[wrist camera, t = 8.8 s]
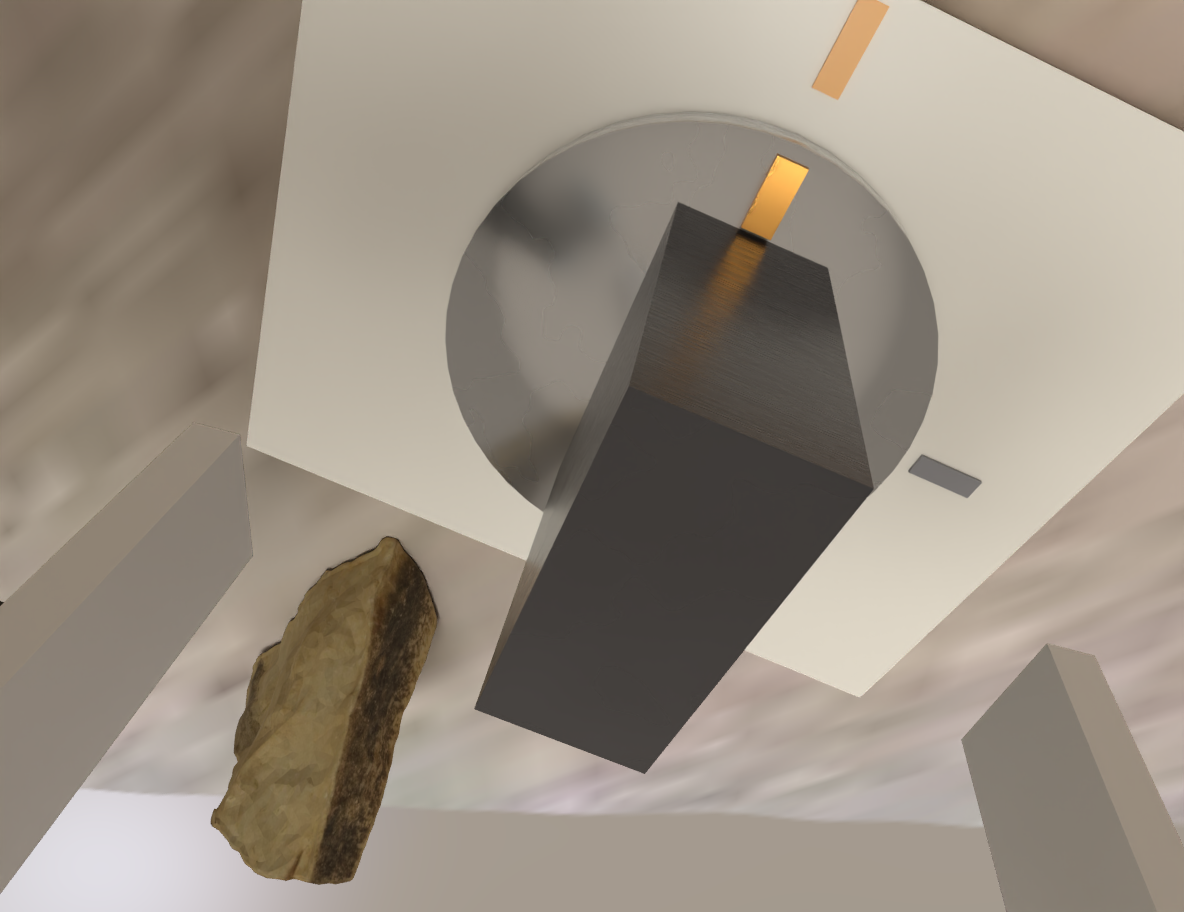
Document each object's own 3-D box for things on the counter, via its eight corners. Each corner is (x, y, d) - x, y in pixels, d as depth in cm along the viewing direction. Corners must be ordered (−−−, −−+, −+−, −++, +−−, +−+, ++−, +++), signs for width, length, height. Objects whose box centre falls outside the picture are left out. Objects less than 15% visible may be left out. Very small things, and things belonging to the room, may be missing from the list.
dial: (777, 590, 24) (787, 885, 16) (415, 443, 23) (258, 688, 16) (1045, 247, 17) (1270, 502, 9) (536, 15, 16) (350, 102, 9)
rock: (279, 769, 34) (470, 803, 30) (89, 856, 26) (315, 917, 22) (280, 528, 35) (468, 531, 31) (94, 542, 27) (316, 548, 23)
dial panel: (270, 420, 25) (244, 447, 24) (372, -274, 15) (336, -291, 14) (855, 663, 27) (860, 699, 26) (1321, 200, 17) (1368, 224, 15)
